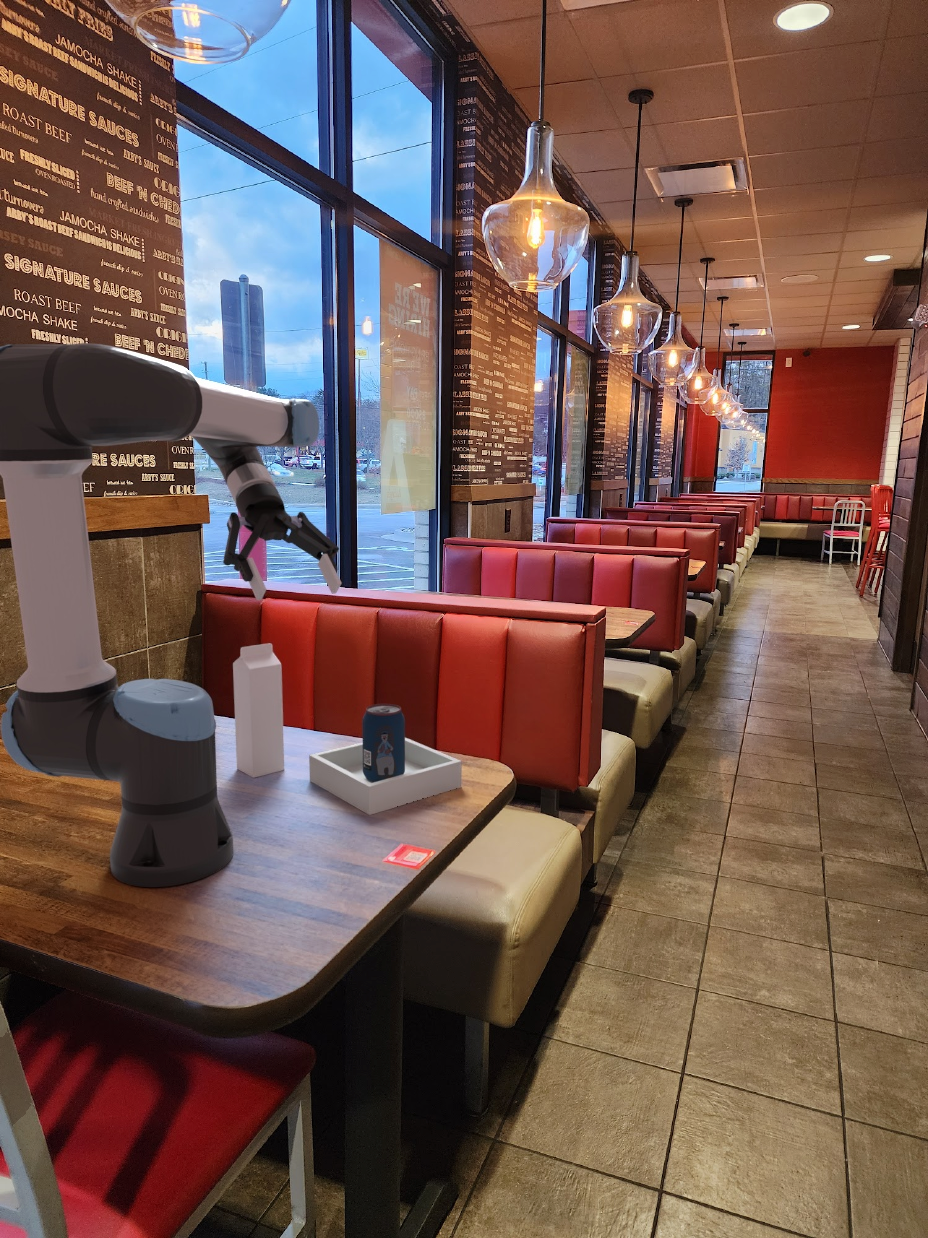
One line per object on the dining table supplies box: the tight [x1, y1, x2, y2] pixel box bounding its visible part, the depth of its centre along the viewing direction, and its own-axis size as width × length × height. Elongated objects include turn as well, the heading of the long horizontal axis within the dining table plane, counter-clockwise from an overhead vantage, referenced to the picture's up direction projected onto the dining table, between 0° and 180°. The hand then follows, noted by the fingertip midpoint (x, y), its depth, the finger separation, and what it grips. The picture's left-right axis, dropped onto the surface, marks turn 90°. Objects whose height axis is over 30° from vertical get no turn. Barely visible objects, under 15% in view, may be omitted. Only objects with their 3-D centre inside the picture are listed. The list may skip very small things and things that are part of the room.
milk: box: [232, 643, 285, 779], centre depth 136 cm, size 6×6×22 cm
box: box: [308, 737, 463, 816], centre depth 131 cm, size 18×18×4 cm
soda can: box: [361, 703, 406, 783], centre depth 130 cm, size 7×7×12 cm
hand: (300, 591), depth 129 cm, fingers open, 13 cm apart
